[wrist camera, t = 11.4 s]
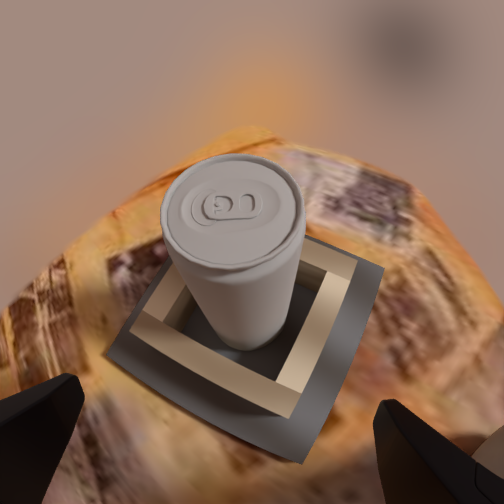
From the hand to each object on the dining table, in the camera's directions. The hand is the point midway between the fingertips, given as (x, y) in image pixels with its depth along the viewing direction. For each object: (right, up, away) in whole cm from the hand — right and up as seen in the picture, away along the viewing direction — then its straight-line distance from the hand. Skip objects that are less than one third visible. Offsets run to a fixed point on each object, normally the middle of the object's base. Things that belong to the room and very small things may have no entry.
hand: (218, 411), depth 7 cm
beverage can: (+1, 0, +13) cm, 13 cm away
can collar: (+1, 0, +13) cm, 13 cm away
